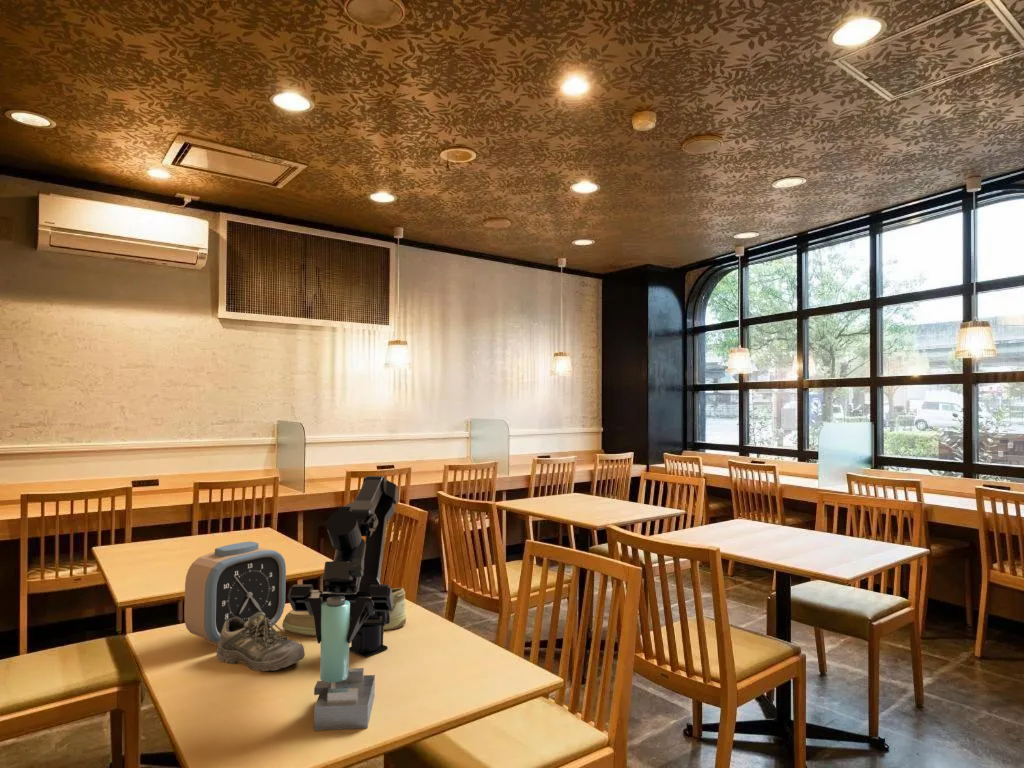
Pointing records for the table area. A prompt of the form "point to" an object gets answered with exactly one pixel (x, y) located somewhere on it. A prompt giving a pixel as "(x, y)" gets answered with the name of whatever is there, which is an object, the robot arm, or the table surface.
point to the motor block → (344, 702)
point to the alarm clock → (233, 588)
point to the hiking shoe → (257, 644)
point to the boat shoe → (306, 623)
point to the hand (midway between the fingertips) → (333, 642)
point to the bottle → (334, 639)
